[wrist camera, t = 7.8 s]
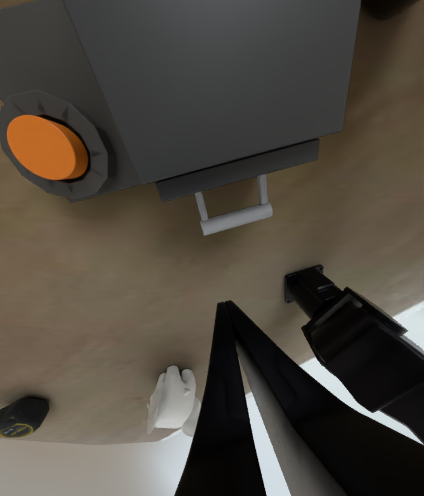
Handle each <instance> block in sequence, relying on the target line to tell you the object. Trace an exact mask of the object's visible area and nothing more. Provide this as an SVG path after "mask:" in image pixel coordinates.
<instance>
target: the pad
mask: <svg viewBox="0 0 424 496" xmlns="http://www.w3.org/2000/svg"><path fill="white" fill-rule="evenodd" d="M0 98H1V100H2V101H3V103H4V105H3V107H2V109H1V111H0V141H1V146H2V149H3V151H4V152H5V153H6V155H7V156H8V157H9V159H10V160H11V161H12V163H13V164H14V165H15V167H16V168H17V169H18V171H19V172H20V173H21V175H22V176H24V177H25V178H27V179H28V180H30V181H31V182H33V183H34V184H36V185H37V186H39V187H40V188H42V189H43V190H45V191H46V192H48V193H50V194H55V195H59V196H63V197H67V198H68V200H69V201H70V203H73V202H77V201H80V200H84V199H88V198H92V197H95V196H99V195H103V194H106V193H110V192H114V191H118V190H121V189H125V188H129V187H132V186H136V185H140V182H139V179H138V177H137V175H136V172H135V170H134V168H133V165H132V163H131V161H130V158H129V156H128V154H127V151H126V149H125V147H124V144H123V142H122V140H121V137H120V135H119V133H118V130H117V128H116V126H115V123H114V121H113V119H112V116H111V114H110V112H109V109H108V107H107V105H106V102H105V100H104V98H103V95H102V93H101V91H100V88H99V86H98V84H97V81H96V79H95V77H94V74H93V72H92V70H91V67H90V65H89V63H88V60H87V58H86V56H85V53H84V51H83V48H82V46H81V44H80V41H79V39H78V37H77V34H76V32H75V30H74V27H73V25H72V23H71V20H70V18H69V16H68V13H67V11H66V9H65V6H64V4H63V2H62V0H38V1H34V2H29V3H24V4H20V5H15V6H11V7H6V8H1V9H0ZM22 115H33V116H38V117H41V118H44V119H47V120H50V121H53V122H55V123H58V124H61V125H63V126H65V127H66V128H68V129H70V130H71V131H72V132H73V133H74V134H75V135H76V136H77V137H78V138H79V139H80V140H81V142H82V143H83V145H84V147H85V149H86V152H87V155H88V166H87V169H86V171H85V172H84V173H83V174H82V175H81V176H79V177H76V178H71V179H62V180H51V179H46V178H43V177H40V176H38V175H36V174H34V173H33V172H31V171H29V170H28V169H27V168H26V167H24V166H23V165H22V164H21V163H20V162H19V161H18V159H17V158H16V157H15V155H14V154H13V152H12V151H11V149H10V146H9V144H8V140H7V129H8V126H9V124H10V122H11V121H12V120H13V119H15V118H16V117H19V116H22Z"/></svg>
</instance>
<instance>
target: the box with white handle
mask: <svg viewBox="0 0 424 496" xmlns="http://www.w3.org/2000/svg"><path fill="white" fill-rule="evenodd" d="M319 141H320V139H319V138H317V139H312V140H307V141H304V142H300V143H296V144H292V145H289V146H285V147H281V148H278V149H274V150H270V151H266V152H263V153H259V154H255V155H252V156H248V157H244V158H240V159H237V160H233V161H229V162H226V163H222V164H218V165H214V166H211V167H207V168H203V169H200V170H196V171H192V172H188V173H185V174H181V175H177V176H174V177H170V178H166V179H162V180H159V181H157V182H156V186H157V189H158V191H159V194H160V197H161V199H162V201H163V202H165V201H169V200H173V199H176V198H180V197H183V196H187V195H191V194H195V198H196V201H197V205H198V208H199V212H200V216H201V219H202V221H200V224H201V228H202V231H203V234H204V236H205V235H209V234H212V233H216V232H219V231H223V230H226V229H230V228H233V227H237V226H240V225H244V224H247V223H251V222H254V221H258V220H261V219H265V218H268V217H271V216H272V207H271V204H270V203H269V202H268V200H267V182H266V174H267V173H271V172H274V171H278V170H282V169H285V168H289V167H293V166H296V165H300V164H304V163H307V162H311V161H314V160H317V159H318V152H319ZM256 176H257V184H258V196H259V204H258V205H255V206H251V207H248V208H244V209H241V210H237V211H233V212H230V213H226V214H223V215H219V216H216V217H212V218H209V219H208V215H207V211H206V207H205V203H204V199H203V195H202V191H205V190H209V189H213V188H216V187H220V186H223V185H227V184H231V183H234V182H238V181H242V180H245V179H249V178H253V177H256Z"/></svg>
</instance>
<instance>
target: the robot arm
mask: <svg viewBox="0 0 424 496" xmlns="http://www.w3.org/2000/svg"><path fill="white" fill-rule="evenodd" d="M323 268H324V267H323V266H322V265H317V266H314V267H310V268H307V269H304V270H300V271H297V272H294V273H290V274H287V275H286V276H285V302H286V303H291V302H294V301H295V302H296V303H297V304H298V305H299V306H300V308H301V309H302V310H303V311H304V312H305V314H306V315H307V316H308V317H309V318H310V321H309V322H308V323H307V324H306V325H305V326H304V325H303V326H302V327H301V329H302V331H303V333H304V336H305V337H306V339H307V341H308V343H309V345H310V347H311V349H312V351H313V353H314V354H315V356H316V358H317V360H318V361H319V362H320V364H321V365H322V366H324V367H325V368H326V369H327V370H328V371H329V372H330V373H332V374H333V375H334V376H336V377H337V378H338V379H339V380H340V381H341V382H342V384H343V385H344V386H345V387H346V388H347V390H348V391H349V392H350V393H351V395H352V396H353V398H354V399H355V400H356V401H357V402H358V403H359V404H360V405H362V406H363V407H365V408H366V409H367V410H368V411H370V412H372V413H374V412H376V411H378V410H379V411H380V412H382V413H384V414H386V415H387V416H389V417H391V418H392V419H394V420H396V421H398V422H400V423H401V424H403V425H405V426H406V427H408V428H409V429H410V430H411V431H412V432H413V434H414V435H415V436H417V438H418V439H420V441H421V442H422V443H423V444H424V351H423V349H421V348H420V347H419V346H418V345H416V344H415V343H414V342H412V341H411V340H410V339H408V338H407V337H406V336H404V335H403V334H404V333H406V332H407V331H408V330H407V329H406V328H404V327H403V326H402V325H401V324H399V323H398V322H397V321H396V320H394V319H393V318H392V317H390V316H389V315H388V314H387V313H385V312H384V311H383V310H382V309H380V308H379V307H377V306H376V305H375V304H373V303H372V302H370V301H369V300H368V299H366V298H365V297H363V296H362V295H360V294H358V293H357V292H355V291H353V290H352V289H350V288H349V287H346V288H345V289H344V291H342V290H341V289H339V288H338V287H337V286H335V284H334V283H333V282H332V281H331V280H329V279H328V278H327V277H326V276H324V275H323ZM360 306H361V307H360ZM238 356H239V359H240V362H241V364H242V367H243V370H244V372H245V375H246V377H247V380H248V383H249V385H250V388H251V391H252V393H253V396H254V398H255V401H256V404H257V406H258V409H259V412H260V414H261V417H262V420H263V422H264V425H265V428H266V430H267V433H268V435H269V438H270V441H271V443H272V446H273V449H274V451H275V454H276V457H277V459H278V462H279V464H280V467H281V470H282V472H283V475H284V478H285V480H286V483H287V486H288V488H289V491H290V494H291V496H424V445H422V444H420V443H418V442H417V441H414V440H413V439H411V438H409V437H406V436H405V435H403V434H401V433H399V432H397V431H395V430H393V429H391V428H389V427H387V426H385V425H383V424H381V423H379V422H377V421H375V420H373V419H371V418H369V417H367V416H365V415H363V414H361V413H359V412H357V411H356V410H354V409H353V408H351V407H349V406H348V405H346V404H345V403H344V402H342V401H341V400H339V399H338V398H337V397H336V396H334V395H333V394H332V393H331V392H330V391H328V390H327V389H326V388H325V387H323V386H322V385H321V384H320V383H319V382H317V381H316V380H315V379H314V378H313V377H311V376H310V375H309V374H308V373H307V372H305V371H304V370H303V369H302V368H301V367H300V366H298V365H297V364H296V363H295V362H294V361H293V360H292V359H291V358H290V357H288V356H287V355H286V354H285V353H284V352H283V351H282V350H281V349H280V348H279V347H278V346H276V344H275V343H274V342H273V341H272V340H271V339H270V338H269V337H268V336H267V335H266V334H265V333H264V332H263V331H262V330H261V329H260V328H259V327H258V326H257V325H256V324H255V323H254V322H253V321H252V320H251V319H250V318H249V317H248V316H247V315H246V314H245V313H244V312H243V311H242V310H241V309H240V308H239V307H238V306H237V305H236V304H235V303H234V302H233V301H231V300H229V301H225V303H224V302H220V303H218V304H217V310H216V318H215V325H214V332H213V340H212V347H211V354H210V361H209V363H210V364H209V368H208V375H207V381H206V387H205V391H204V396H203V400H202V404H201V408H200V412H199V416H198V420H197V424H196V428H195V433H194V437H193V441H192V444H191V448H190V452H189V455H188V458H187V462H186V465H185V468H184V471H183V474H182V476H181V479H180V482H179V484H178V487H177V490H176V492H175V495H174V496H267V495H266V491H265V488H264V483H263V479H262V474H261V470H260V466H259V462H258V458H257V453H256V449H255V444H254V440H253V434H252V429H251V424H250V419H249V413H248V408H247V403H246V397H245V392H244V387H243V381H242V376H241V370H240V365H239V360H238Z"/></svg>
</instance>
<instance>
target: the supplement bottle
mask: <svg viewBox="0 0 424 496" xmlns="http://www.w3.org/2000/svg"><path fill="white" fill-rule="evenodd" d="M361 1H362V4H363V7H364V9H365V10H366V12H367V13H368V14H369V15H370V16H371V17H373V18H375V19H379V20H385V19H389V18H392V17H394V16H396V15H398V14H400V13H402V12H403V11H405V10H406V9H408V8H409V7H411V6H412V5H414V4H415V3H417V2H418V1H420V0H361Z"/></svg>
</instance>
